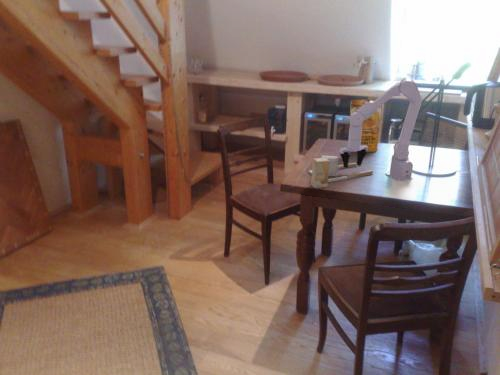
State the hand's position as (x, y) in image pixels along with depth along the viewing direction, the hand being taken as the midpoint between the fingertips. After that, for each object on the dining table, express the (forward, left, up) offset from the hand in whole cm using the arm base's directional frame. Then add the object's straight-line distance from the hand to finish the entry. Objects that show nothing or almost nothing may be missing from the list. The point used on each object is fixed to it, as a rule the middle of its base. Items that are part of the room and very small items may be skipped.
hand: (352, 166), depth 208 cm
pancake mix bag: (+25, -26, -3) cm, 36 cm away
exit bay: (0, +14, -3) cm, 14 cm away
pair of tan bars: (0, 0, -3) cm, 3 cm away
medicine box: (+1, +13, -3) cm, 13 cm away
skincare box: (-9, +24, -3) cm, 26 cm away
